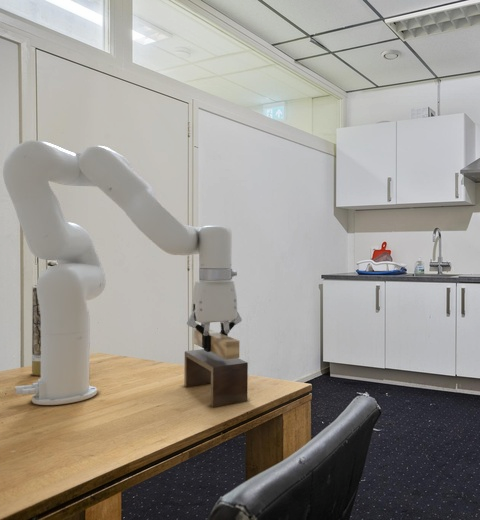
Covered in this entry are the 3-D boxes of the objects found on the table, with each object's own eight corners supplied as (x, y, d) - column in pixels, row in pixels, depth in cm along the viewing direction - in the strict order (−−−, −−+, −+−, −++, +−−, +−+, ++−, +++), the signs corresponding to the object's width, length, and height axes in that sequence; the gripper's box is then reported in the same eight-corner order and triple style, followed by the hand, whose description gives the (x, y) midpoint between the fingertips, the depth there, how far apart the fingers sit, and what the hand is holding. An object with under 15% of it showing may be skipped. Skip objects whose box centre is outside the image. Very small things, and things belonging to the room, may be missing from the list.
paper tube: (45, 377, 128) (46, 286, 128) (25, 375, 129) (26, 285, 129) (67, 371, 135) (68, 284, 134) (48, 369, 136) (48, 284, 136)
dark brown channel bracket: (212, 407, 104) (213, 367, 104) (184, 385, 121) (184, 351, 121) (247, 400, 109) (247, 362, 109) (215, 380, 126) (215, 347, 126)
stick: (239, 357, 107) (239, 340, 107) (226, 359, 105) (226, 341, 105) (205, 342, 125) (205, 327, 125) (193, 343, 123) (193, 328, 123)
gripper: (241, 274, 123) (241, 344, 123) (175, 276, 113) (175, 351, 113) (253, 275, 117) (252, 348, 117) (185, 277, 107) (184, 357, 107)
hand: (214, 349), depth 115 cm, fingers closed on stick, 3 cm apart
